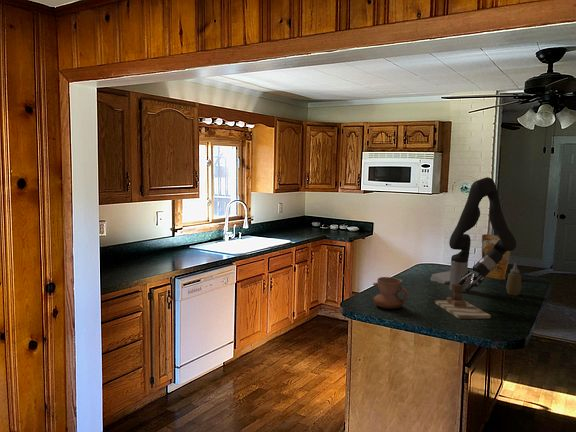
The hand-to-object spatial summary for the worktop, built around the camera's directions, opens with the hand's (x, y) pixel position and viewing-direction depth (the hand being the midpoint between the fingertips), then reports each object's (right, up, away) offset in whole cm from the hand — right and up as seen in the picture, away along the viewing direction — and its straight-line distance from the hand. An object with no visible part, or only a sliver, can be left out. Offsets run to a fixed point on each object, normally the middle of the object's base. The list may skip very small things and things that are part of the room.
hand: (461, 288), depth 251 cm
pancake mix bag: (+47, -4, +74) cm, 88 cm away
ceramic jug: (-38, -9, -4) cm, 39 cm away
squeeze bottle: (+40, -8, +31) cm, 51 cm away
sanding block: (-3, -8, +1) cm, 9 cm away
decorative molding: (+18, -4, +65) cm, 67 cm away
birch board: (-2, -10, -5) cm, 12 cm away
